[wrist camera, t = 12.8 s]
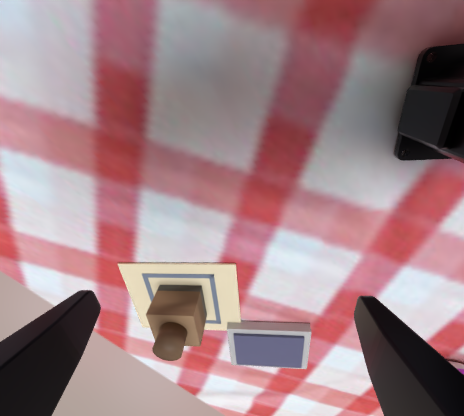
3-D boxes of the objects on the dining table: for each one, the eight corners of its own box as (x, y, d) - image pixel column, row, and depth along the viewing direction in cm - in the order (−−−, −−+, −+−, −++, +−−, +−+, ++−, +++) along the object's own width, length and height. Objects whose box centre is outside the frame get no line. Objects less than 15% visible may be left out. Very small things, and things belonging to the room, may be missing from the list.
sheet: (235, 263, 23) (235, 265, 23) (241, 329, 28) (241, 331, 27) (118, 262, 24) (117, 264, 24) (143, 325, 29) (142, 327, 29)
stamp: (201, 285, 25) (187, 337, 20) (207, 314, 27) (195, 368, 22) (159, 284, 25) (135, 335, 20) (168, 313, 27) (148, 365, 22)
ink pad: (309, 323, 26) (311, 334, 25) (305, 360, 29) (307, 371, 28) (227, 320, 27) (226, 331, 26) (232, 356, 30) (231, 367, 29)
